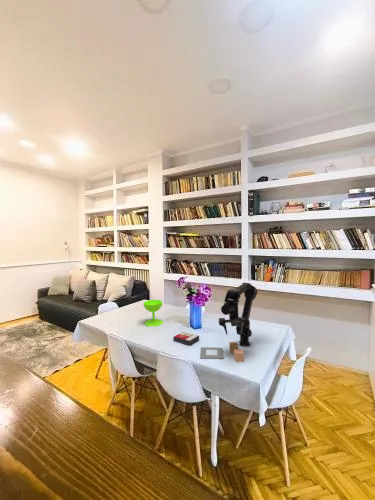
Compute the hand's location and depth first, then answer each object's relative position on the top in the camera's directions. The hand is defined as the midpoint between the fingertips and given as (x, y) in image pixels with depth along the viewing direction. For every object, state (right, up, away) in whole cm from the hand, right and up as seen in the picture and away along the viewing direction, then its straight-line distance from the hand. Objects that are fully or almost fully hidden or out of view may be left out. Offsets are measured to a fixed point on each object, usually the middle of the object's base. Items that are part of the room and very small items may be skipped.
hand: (234, 334), depth 156 cm
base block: (0, -11, +1) cm, 11 cm away
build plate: (-14, -11, 0) cm, 18 cm away
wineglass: (-58, -9, +56) cm, 81 cm away
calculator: (-30, -11, +19) cm, 37 cm away
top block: (+1, -12, -9) cm, 15 cm away
